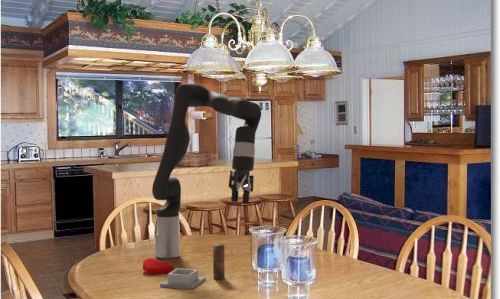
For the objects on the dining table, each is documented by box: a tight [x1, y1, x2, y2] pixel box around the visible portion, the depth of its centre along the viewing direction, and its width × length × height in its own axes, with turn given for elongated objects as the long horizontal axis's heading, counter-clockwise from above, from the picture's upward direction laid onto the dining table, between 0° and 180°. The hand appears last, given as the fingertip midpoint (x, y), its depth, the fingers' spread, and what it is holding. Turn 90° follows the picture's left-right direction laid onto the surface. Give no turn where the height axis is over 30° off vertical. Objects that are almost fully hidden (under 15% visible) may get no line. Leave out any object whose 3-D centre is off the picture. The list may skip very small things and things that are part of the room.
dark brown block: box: [212, 243, 226, 281], centre depth 196 cm, size 4×4×12 cm
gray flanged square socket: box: [159, 267, 207, 290], centre depth 190 cm, size 12×12×4 cm
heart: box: [142, 257, 175, 276], centre depth 205 cm, size 12×4×10 cm
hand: (240, 202), depth 189 cm, fingers open, 8 cm apart
